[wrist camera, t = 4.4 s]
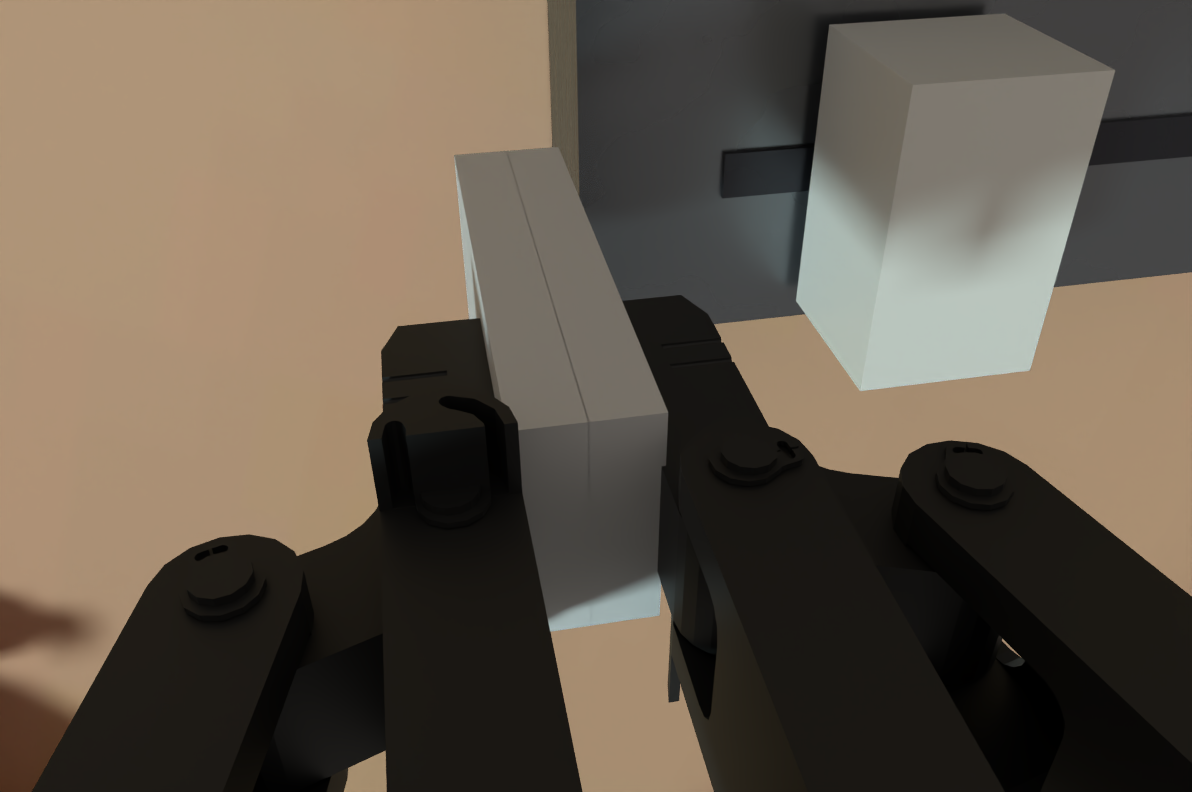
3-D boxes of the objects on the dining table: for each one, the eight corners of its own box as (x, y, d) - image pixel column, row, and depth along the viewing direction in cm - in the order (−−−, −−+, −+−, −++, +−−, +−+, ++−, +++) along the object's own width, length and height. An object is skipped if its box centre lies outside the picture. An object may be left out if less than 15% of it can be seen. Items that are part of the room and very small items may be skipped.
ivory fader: (795, 300, 19) (859, 391, 17) (829, 24, 16) (913, 85, 14) (946, 285, 19) (1029, 370, 17) (1004, 13, 17) (1115, 70, 14)
